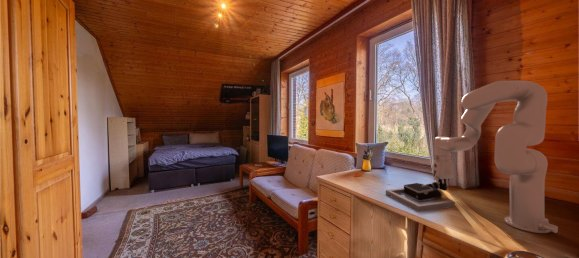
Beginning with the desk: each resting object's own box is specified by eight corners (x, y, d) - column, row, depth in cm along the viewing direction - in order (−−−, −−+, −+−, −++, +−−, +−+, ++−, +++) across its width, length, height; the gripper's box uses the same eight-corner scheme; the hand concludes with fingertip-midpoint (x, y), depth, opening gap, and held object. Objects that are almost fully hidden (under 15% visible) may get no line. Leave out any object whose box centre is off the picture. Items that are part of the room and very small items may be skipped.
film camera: (428, 191, 131) (448, 199, 116) (403, 196, 130) (419, 204, 115) (426, 178, 131) (446, 184, 116) (401, 182, 130) (417, 189, 115)
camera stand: (454, 206, 108) (454, 201, 108) (418, 211, 104) (418, 206, 104) (416, 190, 134) (415, 186, 134) (385, 194, 130) (385, 190, 130)
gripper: (436, 160, 116) (437, 193, 117) (460, 158, 119) (460, 190, 120) (425, 158, 124) (426, 189, 125) (448, 156, 126) (448, 186, 127)
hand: (443, 189), depth 122 cm, fingers closed
